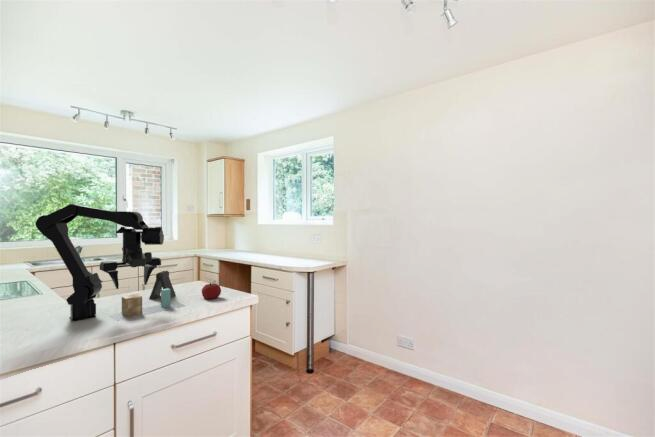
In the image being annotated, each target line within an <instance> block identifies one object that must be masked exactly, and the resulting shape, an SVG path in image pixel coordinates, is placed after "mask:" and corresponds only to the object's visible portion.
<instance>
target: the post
mask: <svg viewBox="0 0 655 437" xmlns="http://www.w3.org/2000/svg"><path fill="white" fill-rule="evenodd" d="M170 302H171V299H170V289H168V288H167V289H163V288H162V289H161V293H160V304H161V307H163V308H166V307H170Z"/></svg>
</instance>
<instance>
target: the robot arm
mask: <svg viewBox="0 0 655 437" xmlns="http://www.w3.org/2000/svg"><path fill="white" fill-rule="evenodd" d="M77 217H83V218H89V219H90V218H91V219H95V220H96V219H97V220H102V221H103V220H104V221H108V222H109V221H110V222H112V223H115V224H117V225H120V228H119V229H118V230H116V231H115V233H116V234H122V247H121V250H122V258H121V262H117V261H114V260H108V261H101V262H100V263H99V270H100V271H102V272H104V273H106V274H108V275H109V277H110V278H111V280H112V283H113V284H114V287H115V289H116V290H119V287H120V286H119V276H118V274H119V271H118V270H117V269H118V268H125V267H127V268H128V267H129V268H130V267H131V268H137V267H143V284H144V286H147V284H148V282H149V279H150V277H151V274H152V272H153V271H154V270H155V269H157V268H158V266H161V265H162V259H161V258H159V257H156V256H153V254H152V252H150V251H148V252H144V253H143V248H142V243H143V244H144V245H145V246H153V245H154V246H156V245H160V246H162V245H163V244H164V241H165V235H164V231H163V227H162V226H156V227H155V226H154V227H153V226H151V227H149V226H148V224H147V223H146V222H145V221H144V219H143V218H144V217H143V216H142V214H141V213H140V212H137V211H119V210H118V211H115V210H109V209H108V210H107V209H102V208H96V207H90V206H85V205H81V204H79V203H77V204H75V203H70V204H67V205H66V206H63V207H62V208H59V209H57V210H55V211H53V212H50V213H49V214H43V215H41V216H39V217H38V218H37V219H36V221H35V224H34V225H35V227H36V229H37V230H38V231H39V232H40V234H42V236H44V237H45V238H46V239H47V240H49V241H50V242H51V243H52V244H53V246H54V247H55V250H56V252H58V254H59V256H60V258H61V259H62V261H63V263H64V265H65V267H66V268H67V270H68V272H69V273H70V275H71V277H72V290H73V293H71V295H70V296H68V297H67V298H66V303H67V305H69V306H70V307H69V308H70V310H69V311H70V316H69V317H68V318H69V319H70V321H72V322H79V321H83V320H88V319H89V320H90V319H93V318H96V315H97V303H95V298H96V297H97V295H98V293H100V292H101V290H102V289H103V284H102V283H103V280H101V279H100V276H99V274H98V272H93V273H92V272H91V271H89V270H88V269H87V266H86V265H85V264H84V262H83V260H82V258H81V257H80V255H79V252H78V251H77V249H76V247H75V246H74V244H73V242H72V240H71V239H70V237H69V226H68V224H70V223H71V222H72V221H73V220H74V219H76V218H77ZM138 230H139V231H138Z"/></svg>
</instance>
